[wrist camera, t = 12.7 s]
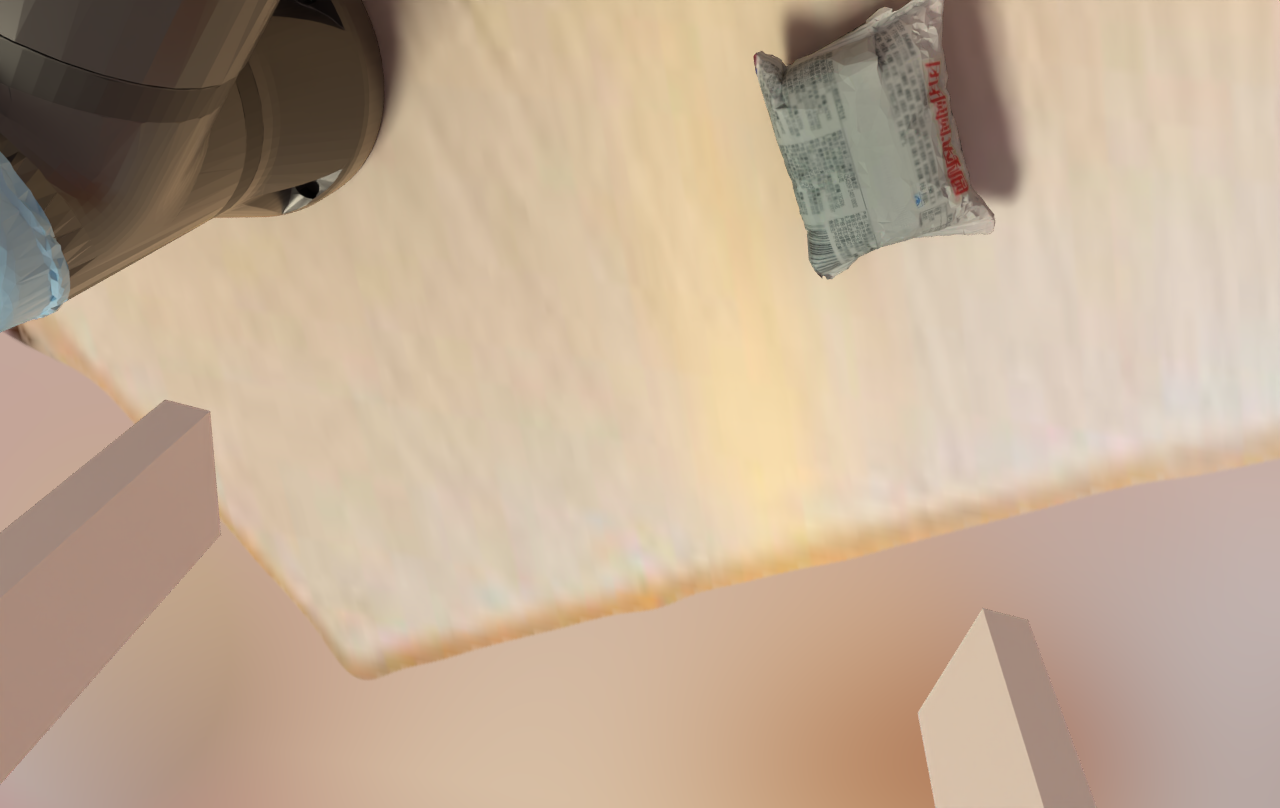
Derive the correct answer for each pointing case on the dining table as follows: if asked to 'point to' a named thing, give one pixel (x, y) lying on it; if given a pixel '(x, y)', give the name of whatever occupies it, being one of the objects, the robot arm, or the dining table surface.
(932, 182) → the packaged food
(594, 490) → the dining table surface
